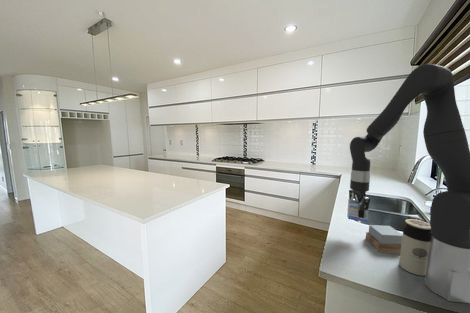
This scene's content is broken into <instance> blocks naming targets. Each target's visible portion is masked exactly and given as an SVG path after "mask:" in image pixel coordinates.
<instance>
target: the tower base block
mask: <svg viewBox="0 0 470 313" xmlns="http://www.w3.org/2000/svg"><path fill="white" fill-rule="evenodd" d="M365 240H366V241H367V242H368V243H369V244H370V245H371V246H372V247H373V248H374V249H375V250H377V252H379V253H390V254H391V253H392V254H400V252H401V245H399V244H381V243H380V242H379V241H378V240H376V239H375V238H374V237H373V236H372V235H370V234H369V231H368V232H367V231H366V232H365Z"/></svg>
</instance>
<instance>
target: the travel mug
mask: <svg viewBox="0 0 470 313" xmlns="http://www.w3.org/2000/svg"><path fill="white" fill-rule="evenodd" d="M404 222H405V226H404V227H403V229H402V235H403V236H402V244H401V252H400V253H399V260H398V264H399V266H400V267H401V268H402V269H403V270H405V271H407V272H409V273H411V274H413V275H416V276H417V275H418V276H426V270H427V263H428V256H429V250H430V243H431V237H432V229H431V227H430V222H429V223H428V222H425V221H423V220H419V219H414V218H409V219H405V220H404Z"/></svg>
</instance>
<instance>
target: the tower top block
mask: <svg viewBox="0 0 470 313" xmlns="http://www.w3.org/2000/svg"><path fill="white" fill-rule="evenodd" d="M368 232H369V234H370V235H372V236H373V237H374V238H375V239H376V240H378V241H379V242H380V243H381V244H399V245H401V244H402V236H403V233H401V232H399V231H398V230H397V229H395V228H394V227H392V226H391V225H378V224H369V225H368Z"/></svg>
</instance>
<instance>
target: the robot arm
mask: <svg viewBox="0 0 470 313" xmlns="http://www.w3.org/2000/svg"><path fill="white" fill-rule="evenodd" d="M420 95H422V97H423V100H424V102H425V105H426V118H425V121H424V124H423V132H422V134H423V138H424V139H423V140H424V144H425V148H426V151H427V153H428V155H429V156H430V158H431V160H432V161H433V162H434V163H435V165H436V166H437V167H438V169H439V170H440V172H441V173H442V175H443V177H444V180H445V183H446V189H447V190H445V191H441V192H438V193H437V194H435V195H434V196H433V197H432V198H433V199H432V201H431V204H430V205H431V206H430V216H429V224H430V227H431V229H432V230H431V233H432V237H431V243H430V250H429V256H428V263H427V270H426V275H425V279H424V284H425V286H426V287H427V288H428V289H429V290H430V291H431V292H433V293H434V294H436V295H437V294H438V296H440V297H441V298H442V299H445V300H446V301H447V302H455V303H465V304H470V146H469V143H468V142H469V141H468V138H467V134H466V130H465V127H464V124H463V120H462V117H461V114H460V111H459V107H458V104H457V100H456V92H455V81H454V75H453V73H452V71H451V69H449V68H448V67H445V66H442V65H438V64H435V63H425V64H421V65H418V66H417V67H416V68H414V69H413V70H412V71H411V72H410V73H409V74H408V76H406V78H405V80H404V81H403V82H402V84H401V85H400V87H399V88H398V90H397V91H396V93H395V94H394V96H392V98H391V100H390V101H389V102H388V104H387V105H386V107H385V108H383V110H382V111H381V112H380V114H378V116H376V117H375V119H374V120H372V122H371V123H370V124H369V125H368V126H367V128H366V133H367V134H366V135H365V136H355V137H354V138H352V139H351V141H350V143H349V152H350V156H351V160H352V162H351V172H350V182H349V188H350V189H349V190H348V199H351V200H356V201H357V204H358V207H359V211H358V217H359V218H364V211H365V210H368V208H369V209H370V201H371V198H370V197H367V194H366V193H367V192H369V191H370V181H371V173H370V172H371V160H370V158H368V157H366V153H369V152H372V151H373V150H375V149H376V148H377V147H378V145H379V144H380V142H381V141H382V139H383V138H384V137H385V136H386V135H387V134H389V132H390V131H391V130H392V129H393V128H394V127H395V126H396V124H398V123H399V120H400V119H401V117H402V115H403V113H404V111H405V110H406V108H407V107H408V106H409V105H410V104H411V103H412V102H413V101H414V100H415V99H416V98H417V97H418V96H420ZM360 202H362V203H360ZM365 205H366V207H365ZM368 211H369V210H368Z"/></svg>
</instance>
